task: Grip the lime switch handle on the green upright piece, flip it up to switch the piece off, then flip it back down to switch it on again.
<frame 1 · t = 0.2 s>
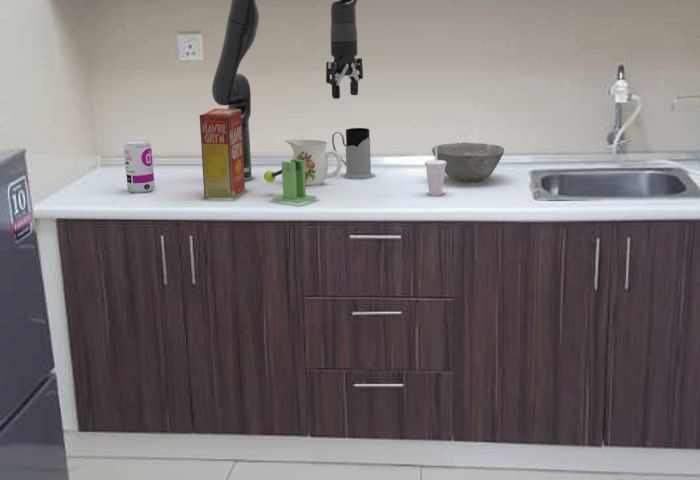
hand: (345, 96, 283), 29 cm above the worktop, tool pointing down, fingers open, 8 cm apart
ceramic bowl: (467, 180, 309), on the worktop
glass holder: (351, 175, 320), on the worktop
supplement can: (141, 191, 304), on the worktop
pitcher: (314, 185, 307), on the worktop
smoothie: (435, 194, 291), on the worktop
food packaging: (225, 195, 295), on the worktop
green upright piece: (294, 201, 286), on the worktop
switch lever: (281, 172, 286), point 8 cm above the worktop, hinge at -22.0°
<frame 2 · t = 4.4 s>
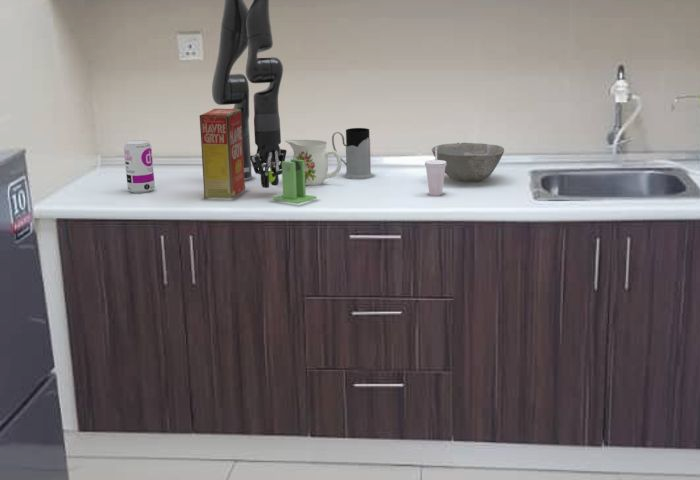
hand: (270, 186, 290), 3 cm above the worktop, tool pointing down, fingers closed on switch lever, 3 cm apart
switch lever: (281, 172, 286), point 8 cm above the worktop, hinge at -22.0°, touching gripper
everything else where it was.
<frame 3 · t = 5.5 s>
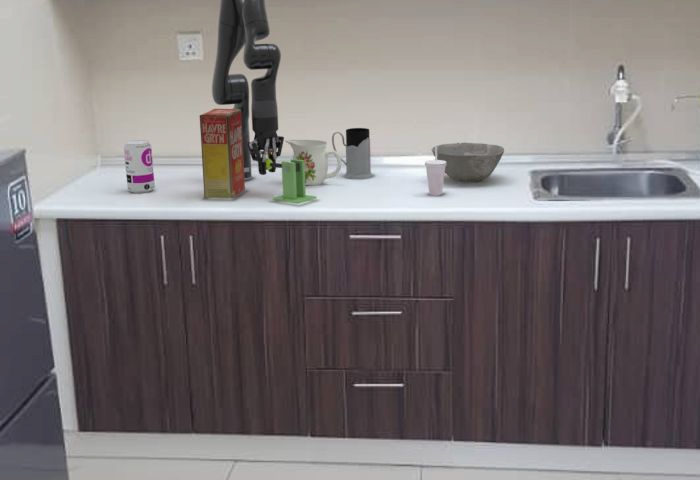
hand: (267, 172, 290), 7 cm above the worktop, tool pointing down, fingers closed on switch lever, 3 cm apart
switch lever: (279, 165, 286), point 10 cm above the worktop, hinge at -0.7°, touching gripper
everything else where it was.
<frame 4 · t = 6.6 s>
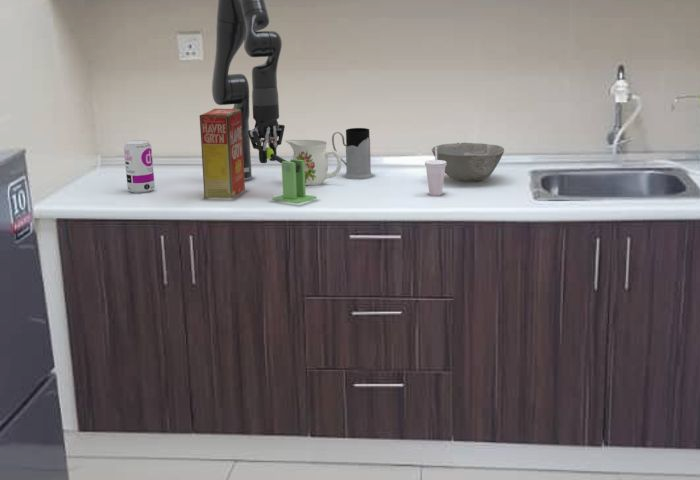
hand: (268, 161, 288), 11 cm above the worktop, tool pointing down, fingers closed on switch lever, 3 cm apart
switch lever: (280, 159, 285), point 12 cm above the worktop, hinge at 18.5°, touching gripper
everything else where it was.
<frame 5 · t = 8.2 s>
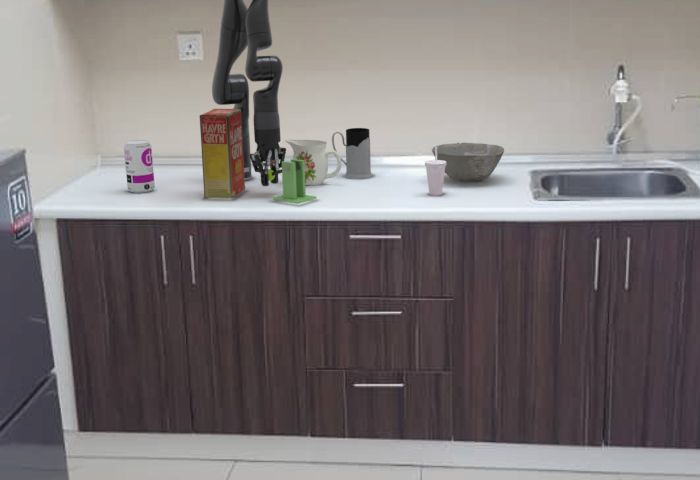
hand: (269, 184, 290), 4 cm above the worktop, tool pointing down, fingers closed on switch lever, 3 cm apart
switch lever: (280, 171, 286), point 8 cm above the worktop, hinge at -19.4°, touching gripper
everything else where it was.
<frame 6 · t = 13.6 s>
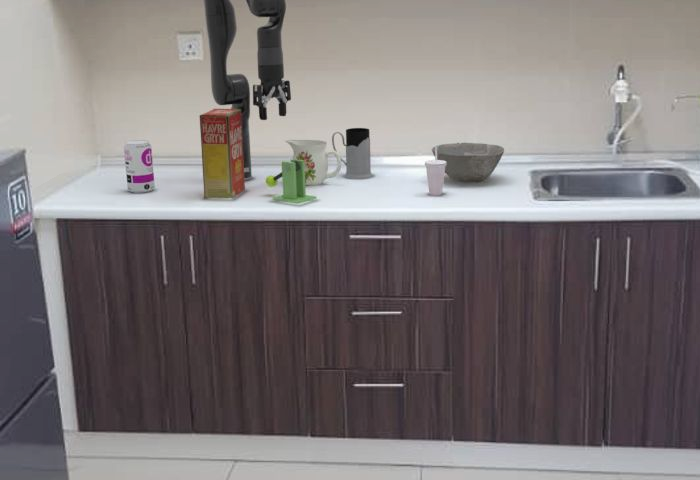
hand: (273, 117, 293), 22 cm above the worktop, tool pointing down, fingers open, 8 cm apart
switch lever: (281, 174, 286), point 7 cm above the worktop, hinge at -30.5°
everything else where it was.
at the end: switch lever reached +18° during the clip, -30° at the end; switch lever at -30° (first picture: -22°) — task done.
